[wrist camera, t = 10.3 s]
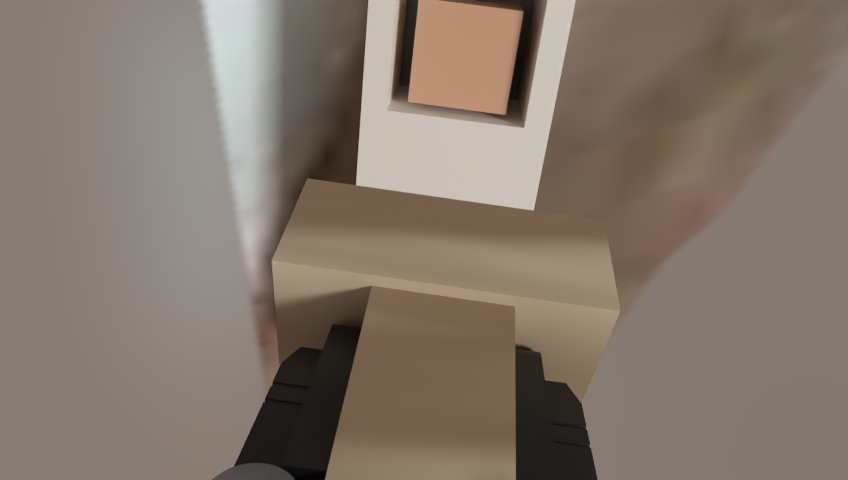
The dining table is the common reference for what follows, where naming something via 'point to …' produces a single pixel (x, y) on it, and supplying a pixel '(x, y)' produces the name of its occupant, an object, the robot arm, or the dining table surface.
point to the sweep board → (459, 114)
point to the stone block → (465, 53)
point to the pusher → (439, 320)
